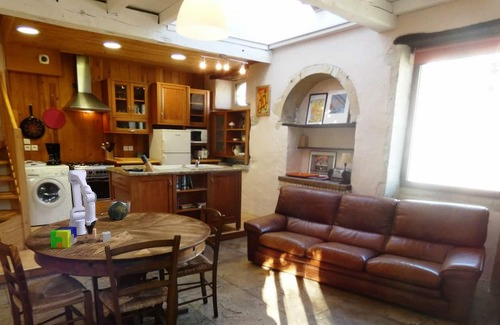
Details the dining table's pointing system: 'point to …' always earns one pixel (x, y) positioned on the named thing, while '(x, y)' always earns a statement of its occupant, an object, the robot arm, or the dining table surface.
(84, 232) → the robot arm
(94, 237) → the peach block
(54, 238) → the puzzle toy
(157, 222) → the dining table surface
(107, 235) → the light grey block
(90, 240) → the wood slab
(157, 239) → the dining table surface
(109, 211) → the squash
